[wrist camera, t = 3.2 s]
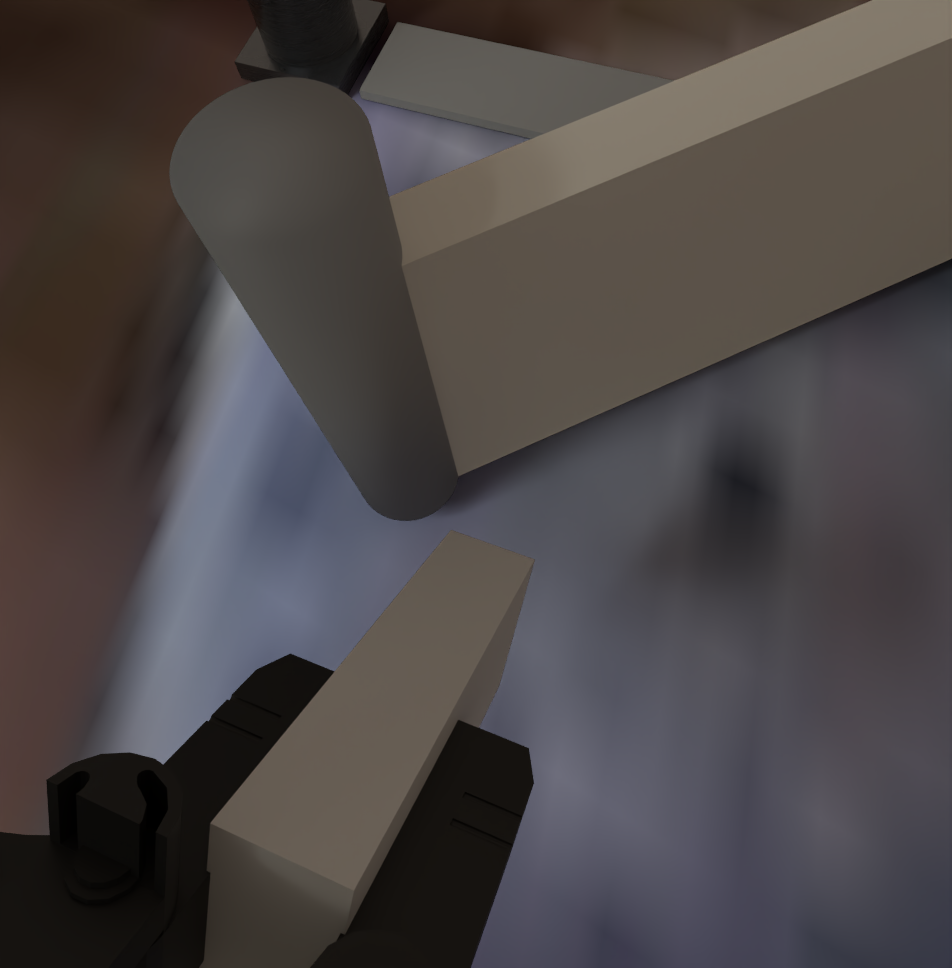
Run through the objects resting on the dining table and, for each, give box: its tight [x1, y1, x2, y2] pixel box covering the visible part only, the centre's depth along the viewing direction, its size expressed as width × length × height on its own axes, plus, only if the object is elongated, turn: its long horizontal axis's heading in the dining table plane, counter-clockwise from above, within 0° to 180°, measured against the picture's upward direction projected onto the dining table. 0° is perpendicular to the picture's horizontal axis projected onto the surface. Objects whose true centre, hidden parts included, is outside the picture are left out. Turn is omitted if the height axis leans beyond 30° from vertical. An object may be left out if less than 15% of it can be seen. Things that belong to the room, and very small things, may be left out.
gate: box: [170, 0, 952, 521], centre depth 14 cm, size 17×2×10 cm, turn 114°
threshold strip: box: [359, 22, 674, 139], centre depth 22 cm, size 17×3×1 cm, turn 69°
